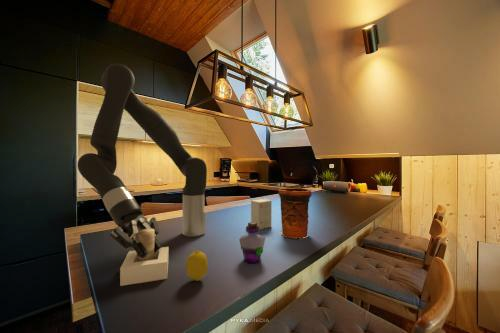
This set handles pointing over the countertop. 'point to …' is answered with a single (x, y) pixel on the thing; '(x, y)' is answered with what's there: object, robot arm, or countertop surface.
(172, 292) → the countertop surface
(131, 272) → the socket
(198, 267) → the lemon
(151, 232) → the peg
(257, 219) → the small box
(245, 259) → the potion bottle
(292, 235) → the vessel
